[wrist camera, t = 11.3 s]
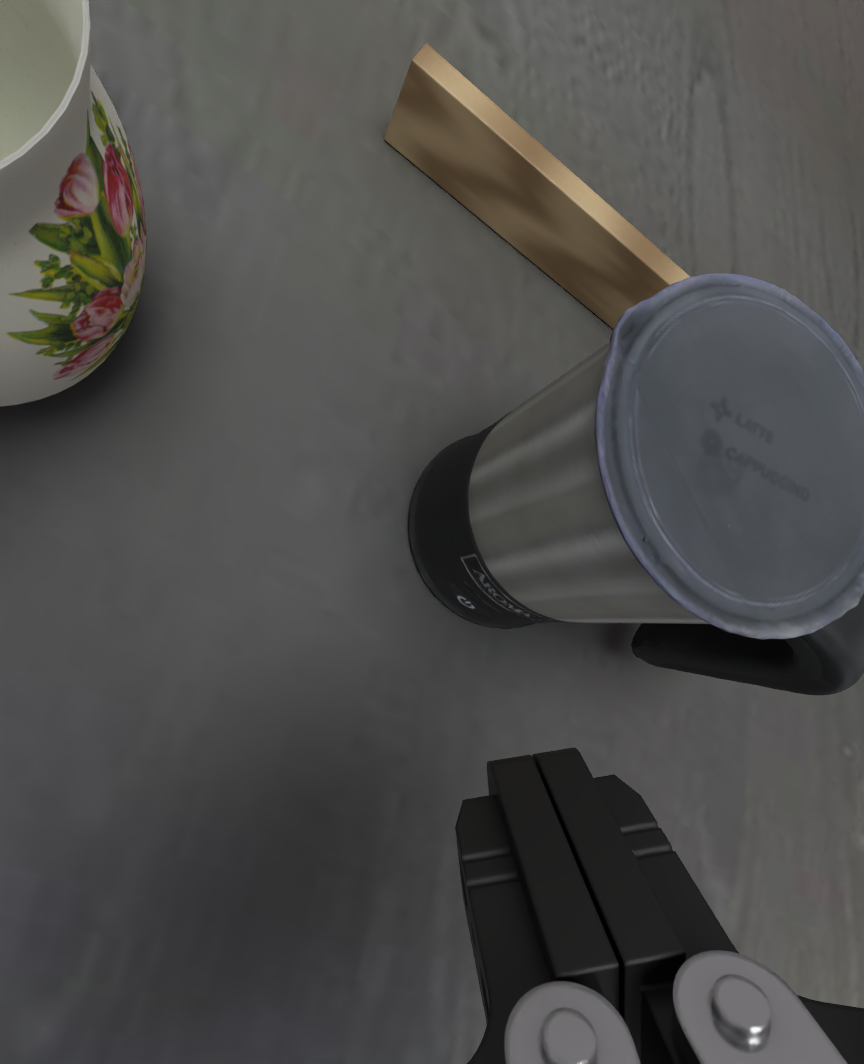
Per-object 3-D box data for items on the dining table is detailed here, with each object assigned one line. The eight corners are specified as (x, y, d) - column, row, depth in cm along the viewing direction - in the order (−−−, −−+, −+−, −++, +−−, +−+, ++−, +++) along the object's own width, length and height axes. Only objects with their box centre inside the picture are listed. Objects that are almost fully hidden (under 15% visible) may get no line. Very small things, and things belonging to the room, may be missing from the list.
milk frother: (372, 583, 26) (551, 552, 12) (486, 284, 30) (722, -1, 16) (634, 688, 30) (999, 757, 16) (705, 412, 33) (1052, 272, 20)
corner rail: (218, 352, 25) (218, 290, 20) (398, 119, 29) (434, 21, 24) (670, 661, 31) (755, 671, 26) (766, 429, 35) (855, 399, 30)
